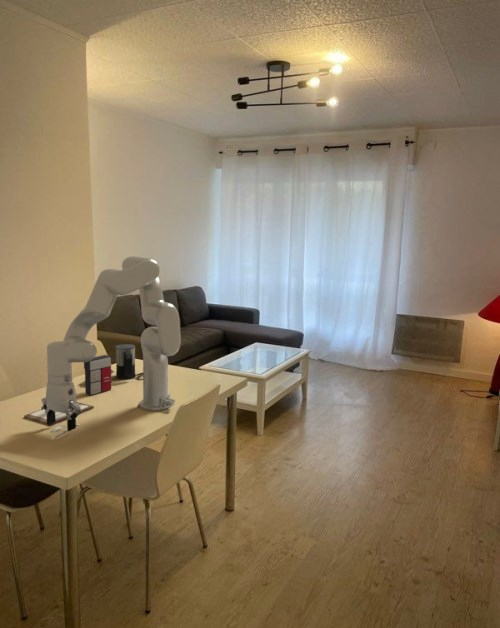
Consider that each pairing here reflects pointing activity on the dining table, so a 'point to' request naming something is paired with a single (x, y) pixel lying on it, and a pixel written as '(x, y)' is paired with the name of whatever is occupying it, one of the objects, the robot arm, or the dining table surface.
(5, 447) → the dining table surface
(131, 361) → the milk frother
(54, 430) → the picture light
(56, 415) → the clipboard
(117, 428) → the dining table surface
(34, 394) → the dining table surface
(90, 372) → the grey and red box
